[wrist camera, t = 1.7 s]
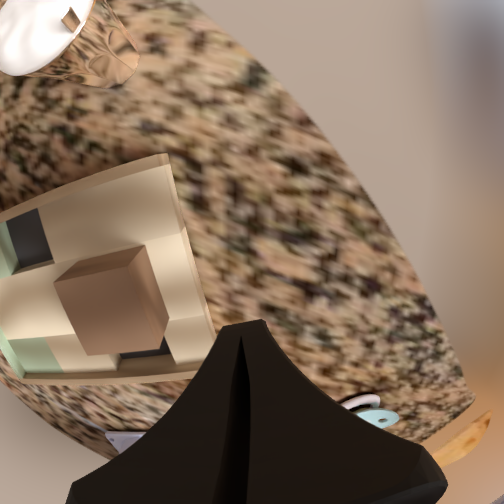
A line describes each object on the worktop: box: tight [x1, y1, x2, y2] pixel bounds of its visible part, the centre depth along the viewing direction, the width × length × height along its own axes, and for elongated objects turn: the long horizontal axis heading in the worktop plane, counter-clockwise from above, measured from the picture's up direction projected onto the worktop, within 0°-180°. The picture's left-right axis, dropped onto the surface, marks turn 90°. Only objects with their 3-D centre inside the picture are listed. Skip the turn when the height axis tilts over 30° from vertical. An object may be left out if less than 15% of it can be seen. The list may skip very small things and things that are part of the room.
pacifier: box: [340, 394, 399, 428], centre depth 20 cm, size 7×6×6 cm
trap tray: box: [0, 153, 217, 386], centre depth 16 cm, size 13×18×2 cm
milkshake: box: [0, 0, 140, 88], centre depth 9 cm, size 5×5×10 cm
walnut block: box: [53, 245, 170, 356], centre depth 15 cm, size 4×4×3 cm
